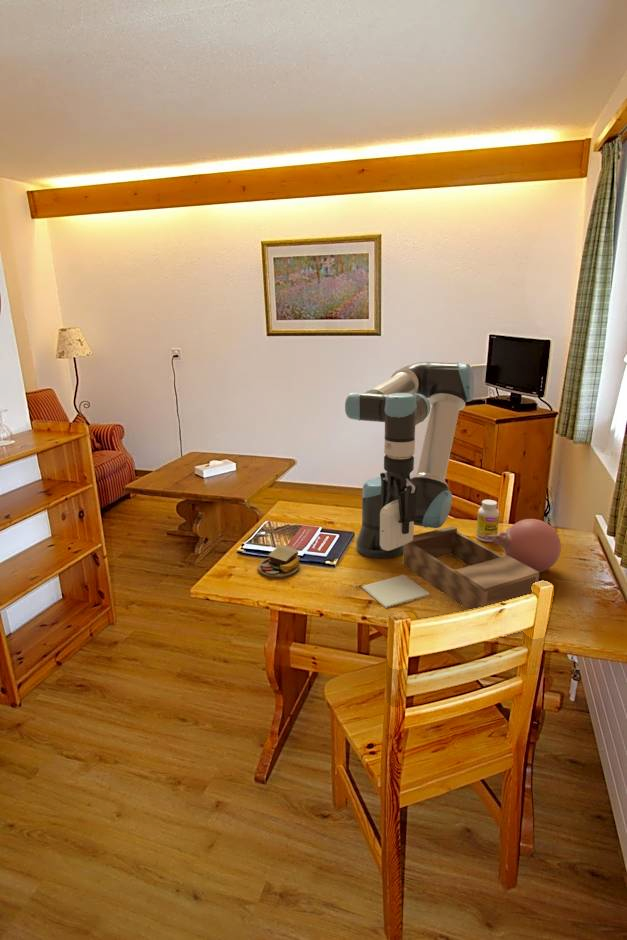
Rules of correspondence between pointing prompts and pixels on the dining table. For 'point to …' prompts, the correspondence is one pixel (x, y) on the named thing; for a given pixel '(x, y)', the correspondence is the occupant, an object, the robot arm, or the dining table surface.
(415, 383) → the robot arm
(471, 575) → the walnut box
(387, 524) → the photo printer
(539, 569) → the pink rubber bulb
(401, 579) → the felt mat
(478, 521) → the supplement bottle
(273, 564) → the toy sandwich meal
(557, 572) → the dining table surface
